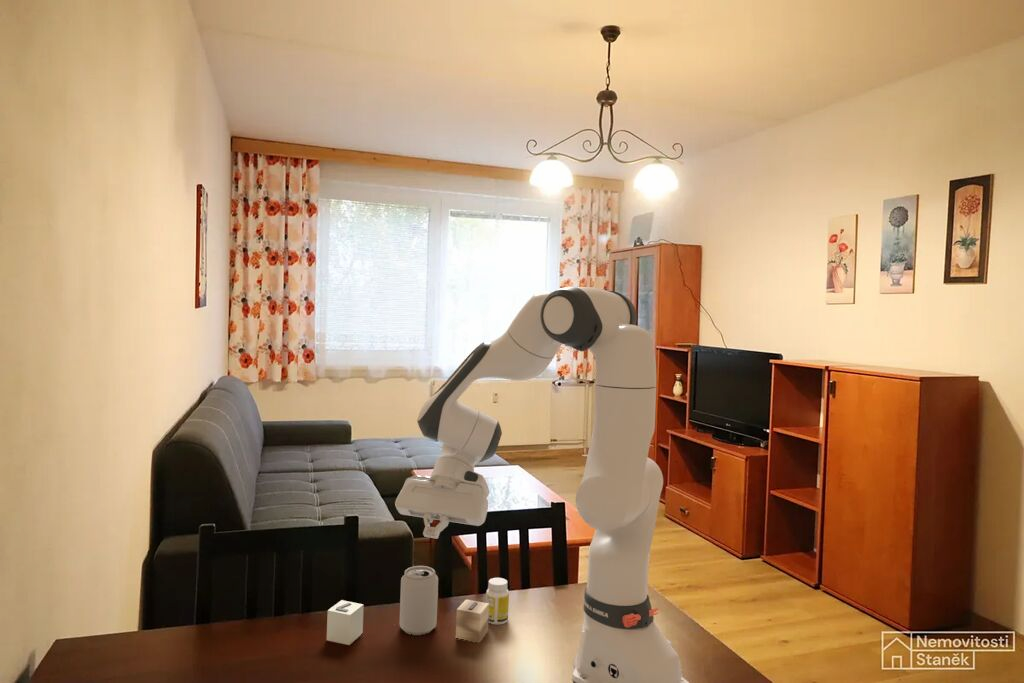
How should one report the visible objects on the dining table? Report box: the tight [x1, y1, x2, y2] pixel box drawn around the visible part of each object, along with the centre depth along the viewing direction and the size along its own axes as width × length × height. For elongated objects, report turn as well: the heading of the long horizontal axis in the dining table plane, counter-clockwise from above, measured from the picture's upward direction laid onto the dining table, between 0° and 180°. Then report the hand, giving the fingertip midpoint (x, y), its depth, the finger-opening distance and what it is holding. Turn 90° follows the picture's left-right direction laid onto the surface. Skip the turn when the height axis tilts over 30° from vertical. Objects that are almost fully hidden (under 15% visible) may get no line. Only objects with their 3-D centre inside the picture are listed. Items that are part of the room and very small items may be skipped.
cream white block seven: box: [326, 599, 365, 646], centre depth 133 cm, size 5×5×6 cm
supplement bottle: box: [485, 577, 510, 626], centre depth 143 cm, size 5×5×8 cm
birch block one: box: [455, 598, 489, 644], centre depth 136 cm, size 5×5×6 cm
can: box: [398, 565, 439, 636], centre depth 138 cm, size 8×8×12 cm
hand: (430, 536), depth 141 cm, fingers closed
